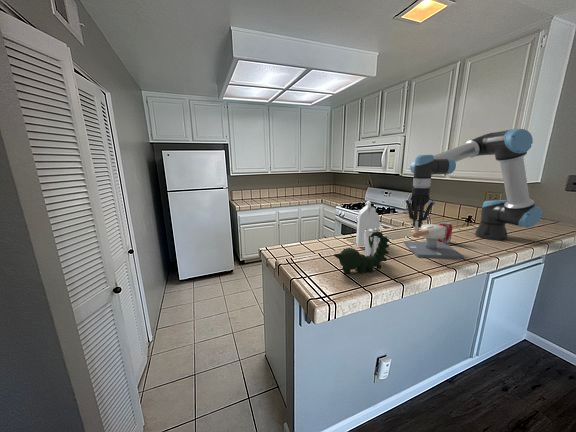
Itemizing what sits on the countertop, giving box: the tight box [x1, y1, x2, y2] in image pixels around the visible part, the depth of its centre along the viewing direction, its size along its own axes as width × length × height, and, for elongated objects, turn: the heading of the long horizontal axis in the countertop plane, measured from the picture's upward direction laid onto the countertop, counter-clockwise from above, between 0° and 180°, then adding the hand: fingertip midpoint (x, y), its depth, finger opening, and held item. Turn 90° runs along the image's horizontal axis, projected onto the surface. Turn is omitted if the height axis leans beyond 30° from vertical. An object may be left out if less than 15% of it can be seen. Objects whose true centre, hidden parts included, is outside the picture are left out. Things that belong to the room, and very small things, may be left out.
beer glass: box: [364, 228, 380, 256], centre depth 113 cm, size 7×7×15 cm
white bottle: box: [412, 223, 446, 239], centre depth 118 cm, size 22×11×5 cm, turn 119°
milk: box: [355, 200, 380, 247], centre depth 133 cm, size 12×12×26 cm
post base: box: [403, 237, 465, 260], centre depth 122 cm, size 21×21×8 cm
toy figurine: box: [333, 231, 391, 274], centre depth 100 cm, size 9×19×25 cm
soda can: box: [437, 221, 453, 245], centre depth 134 cm, size 7×7×12 cm
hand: (416, 232), depth 117 cm, fingers closed
